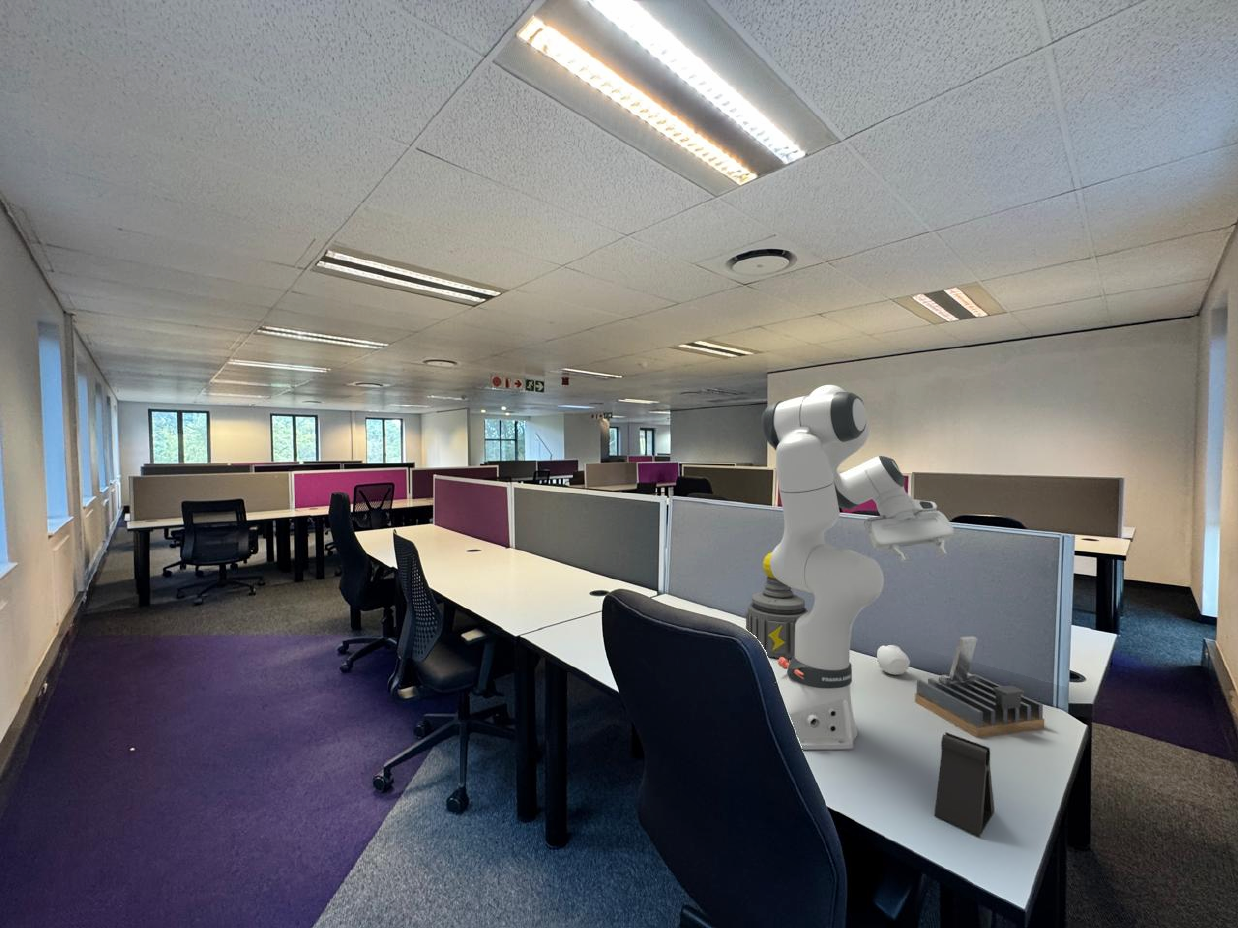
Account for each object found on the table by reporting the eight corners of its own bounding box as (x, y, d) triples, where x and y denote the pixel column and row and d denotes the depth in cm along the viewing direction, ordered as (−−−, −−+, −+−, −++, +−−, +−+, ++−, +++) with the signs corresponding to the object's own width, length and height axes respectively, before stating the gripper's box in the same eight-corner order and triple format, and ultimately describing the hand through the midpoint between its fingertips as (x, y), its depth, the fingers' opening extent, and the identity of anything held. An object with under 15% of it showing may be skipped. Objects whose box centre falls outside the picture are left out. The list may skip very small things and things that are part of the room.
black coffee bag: (952, 793, 86) (953, 723, 86) (994, 811, 82) (995, 738, 82) (934, 816, 80) (934, 742, 80) (978, 838, 76) (979, 759, 76)
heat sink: (980, 739, 103) (981, 696, 103) (914, 701, 119) (915, 664, 119) (1048, 730, 107) (1049, 688, 107) (976, 694, 123) (976, 658, 123)
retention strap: (962, 639, 115) (958, 637, 116) (950, 682, 118) (946, 679, 119) (978, 638, 116) (974, 636, 117) (966, 680, 119) (962, 678, 120)
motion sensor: (915, 676, 134) (915, 648, 134) (896, 681, 130) (896, 652, 130) (888, 665, 141) (888, 638, 141) (869, 670, 138) (869, 642, 138)
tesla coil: (747, 634, 165) (748, 544, 165) (808, 641, 159) (809, 547, 159) (743, 655, 147) (744, 554, 147) (811, 664, 141) (813, 558, 141)
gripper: (864, 512, 133) (887, 559, 124) (940, 501, 133) (969, 546, 124) (858, 525, 138) (880, 570, 129) (931, 514, 138) (958, 558, 129)
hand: (924, 558), depth 127 cm, fingers open, 8 cm apart
